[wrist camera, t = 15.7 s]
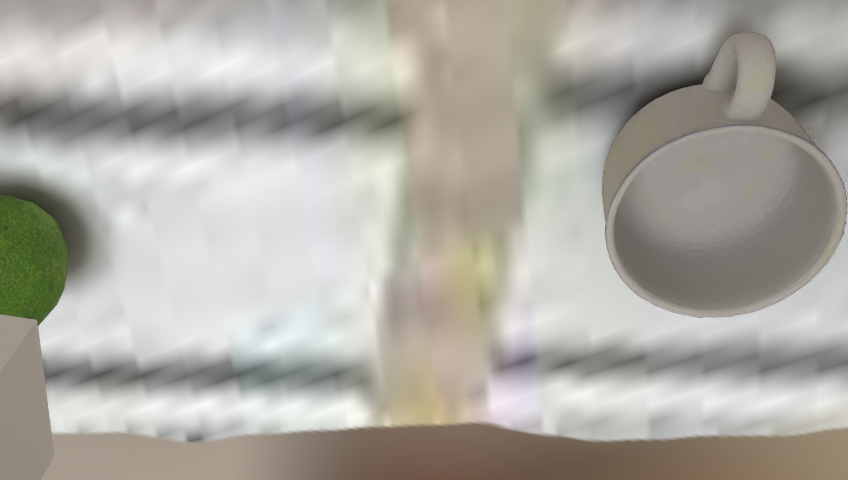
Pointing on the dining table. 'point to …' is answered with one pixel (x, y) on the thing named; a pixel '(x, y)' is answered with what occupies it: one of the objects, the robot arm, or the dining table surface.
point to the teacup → (720, 193)
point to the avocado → (30, 260)
